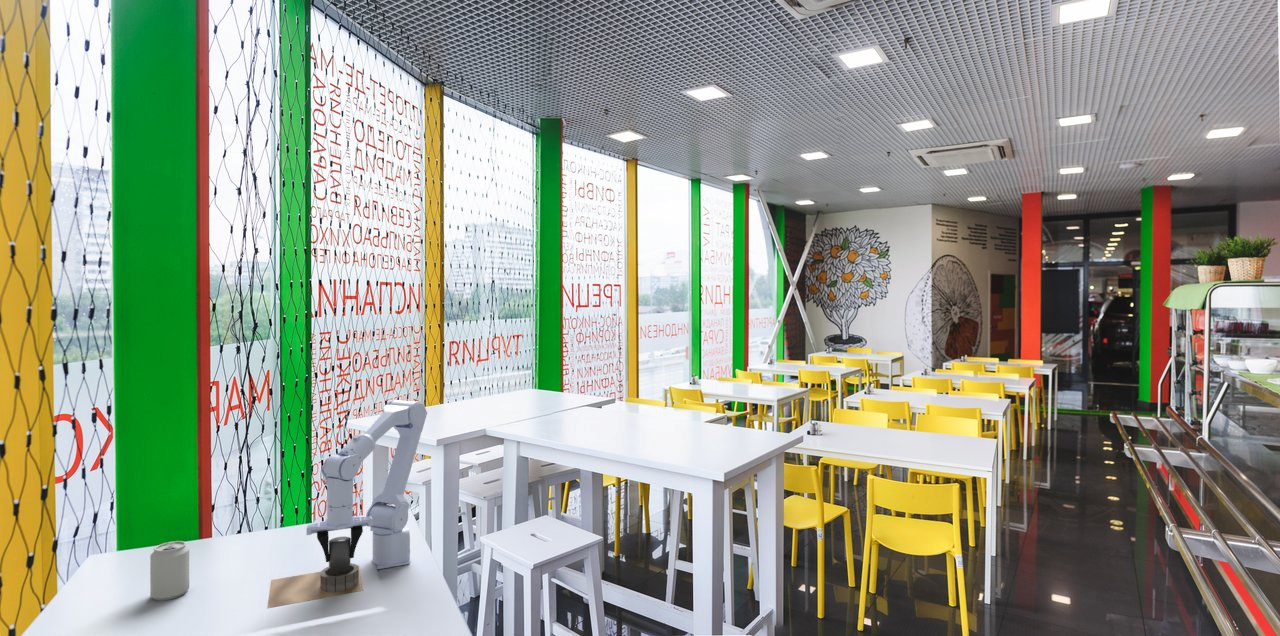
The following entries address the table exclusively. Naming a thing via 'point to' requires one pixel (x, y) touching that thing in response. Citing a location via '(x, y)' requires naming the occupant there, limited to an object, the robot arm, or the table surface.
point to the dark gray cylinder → (339, 552)
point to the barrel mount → (315, 585)
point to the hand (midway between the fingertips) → (339, 558)
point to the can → (169, 570)
